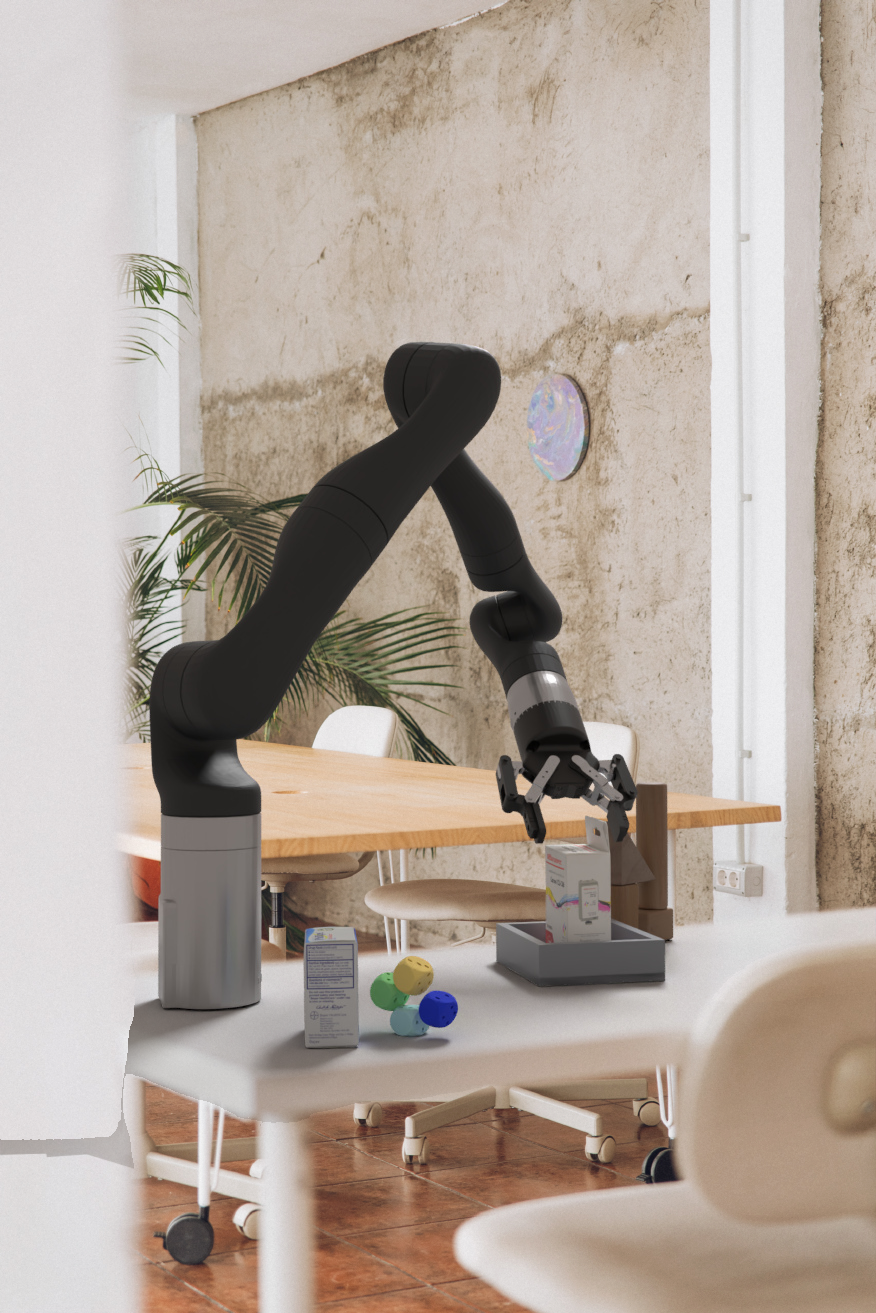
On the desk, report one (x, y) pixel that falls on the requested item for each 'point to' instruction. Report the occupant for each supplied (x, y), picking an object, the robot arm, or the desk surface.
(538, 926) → the box
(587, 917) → the ink cartridge box
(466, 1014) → the desk surface
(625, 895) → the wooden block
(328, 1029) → the medicine box
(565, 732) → the robot arm
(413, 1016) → the dice
